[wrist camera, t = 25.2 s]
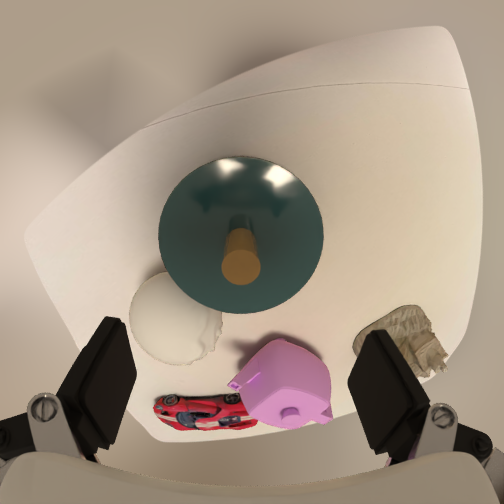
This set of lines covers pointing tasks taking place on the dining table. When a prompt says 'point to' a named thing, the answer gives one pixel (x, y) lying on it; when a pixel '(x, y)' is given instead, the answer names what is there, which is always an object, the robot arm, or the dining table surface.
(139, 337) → the decorative ball
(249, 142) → the dining table surface
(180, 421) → the toy car
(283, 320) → the dining table surface
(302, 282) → the lid
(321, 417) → the teapot
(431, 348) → the ceramic cottage
